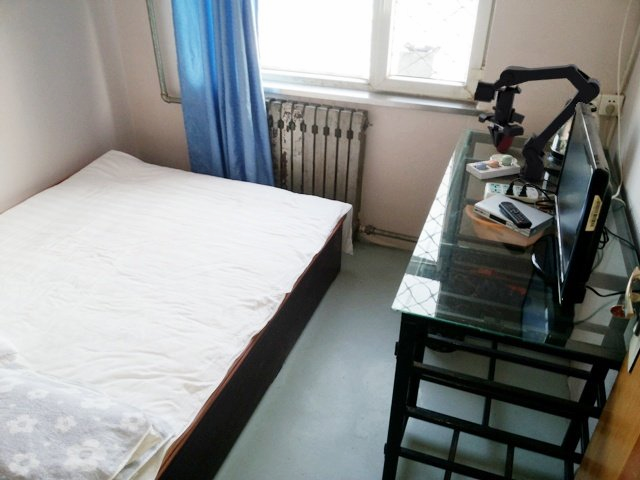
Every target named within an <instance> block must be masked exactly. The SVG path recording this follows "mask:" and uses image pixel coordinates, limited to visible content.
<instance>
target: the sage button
mask: <svg viewBox="0 0 640 480" xmlns="http://www.w3.org/2000/svg"><path fill="white" fill-rule="evenodd" d="M501 159H502V161H501V162H502V165H504V166H510V165H511V163H512V162H513V156H512V155H510V154H502V156H501Z"/></svg>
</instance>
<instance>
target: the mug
mask: <svg viewBox="0 0 640 480" xmlns="http://www.w3.org/2000/svg"><path fill="white" fill-rule="evenodd" d="M509 124H510V125H513V123H512V124H511V123H509ZM515 137H516V136H514V137H508V136H505V137H504V138H503V140H502V142H501V143H500V145H499V147H498V148H496V147H495V149H496V151H497V152H500V153H505V152H506V153H507V152H508V151H509V149H510V148H511V147H512V144H513V142H514V140H515Z"/></svg>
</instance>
